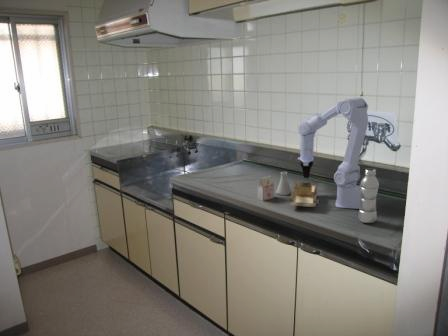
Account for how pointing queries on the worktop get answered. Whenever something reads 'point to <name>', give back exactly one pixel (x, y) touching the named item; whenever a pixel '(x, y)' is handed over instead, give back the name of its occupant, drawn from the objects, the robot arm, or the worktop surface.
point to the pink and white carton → (265, 188)
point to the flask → (283, 185)
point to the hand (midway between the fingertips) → (306, 177)
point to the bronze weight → (304, 189)
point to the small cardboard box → (303, 197)
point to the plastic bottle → (368, 197)
